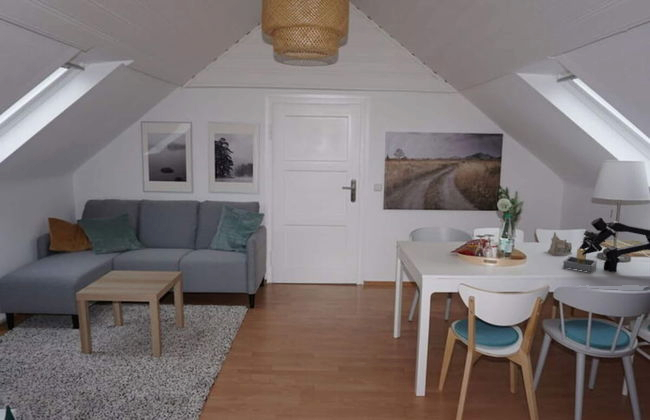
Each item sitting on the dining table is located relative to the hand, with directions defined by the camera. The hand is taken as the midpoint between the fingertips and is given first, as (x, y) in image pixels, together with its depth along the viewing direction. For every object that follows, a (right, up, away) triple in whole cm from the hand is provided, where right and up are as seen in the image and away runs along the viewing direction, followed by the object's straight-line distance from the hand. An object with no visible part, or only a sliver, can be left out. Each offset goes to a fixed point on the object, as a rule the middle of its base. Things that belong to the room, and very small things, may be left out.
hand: (581, 251), depth 296 cm
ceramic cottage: (+6, -5, +37) cm, 38 cm away
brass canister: (0, -9, +2) cm, 9 cm away
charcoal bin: (0, -10, +2) cm, 10 cm away
